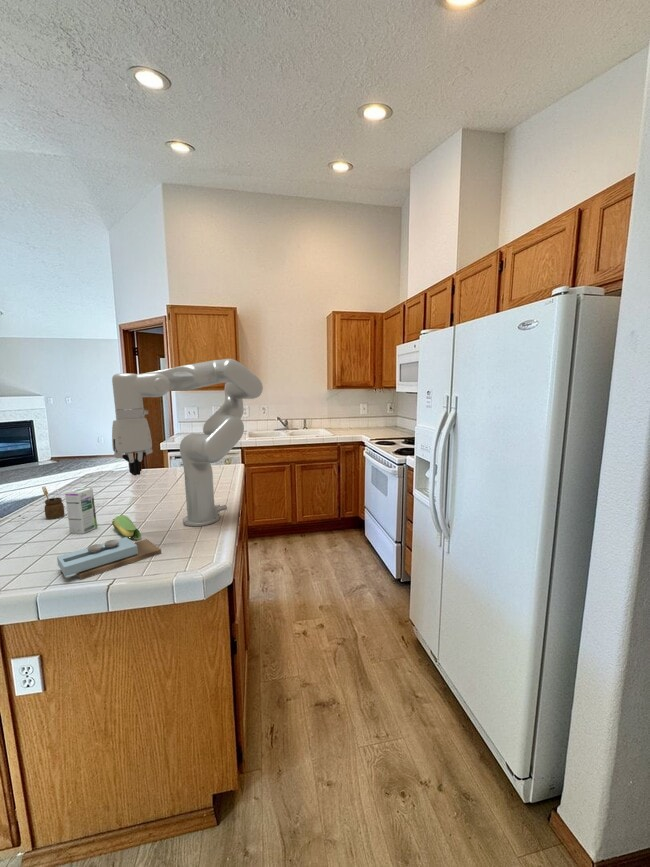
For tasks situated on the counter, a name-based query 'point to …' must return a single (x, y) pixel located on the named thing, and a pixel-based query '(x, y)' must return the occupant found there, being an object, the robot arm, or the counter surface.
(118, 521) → the edible corn
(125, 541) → the panel
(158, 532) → the counter surface
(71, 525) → the syrup box
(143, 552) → the board
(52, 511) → the utensil holder
